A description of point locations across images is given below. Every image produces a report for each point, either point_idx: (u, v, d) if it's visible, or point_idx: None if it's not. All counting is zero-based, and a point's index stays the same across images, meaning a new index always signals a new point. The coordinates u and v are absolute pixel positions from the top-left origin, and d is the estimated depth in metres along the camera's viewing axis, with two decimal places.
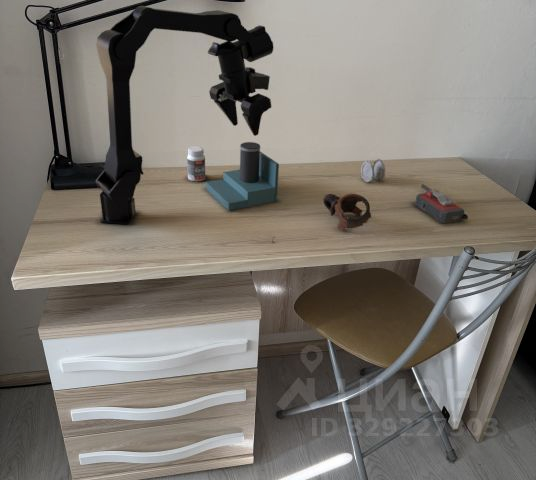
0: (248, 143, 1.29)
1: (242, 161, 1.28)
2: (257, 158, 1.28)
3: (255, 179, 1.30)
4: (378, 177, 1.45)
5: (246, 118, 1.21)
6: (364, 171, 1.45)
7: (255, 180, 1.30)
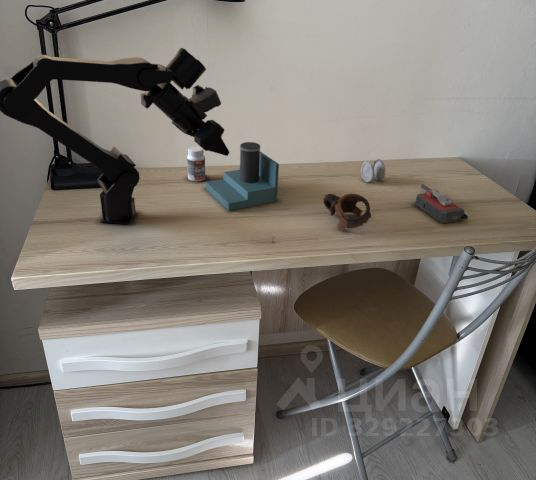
0: (248, 143, 1.29)
1: (242, 161, 1.28)
2: (257, 158, 1.28)
3: (255, 179, 1.30)
4: (378, 177, 1.45)
5: None
6: (364, 171, 1.45)
7: (255, 180, 1.30)
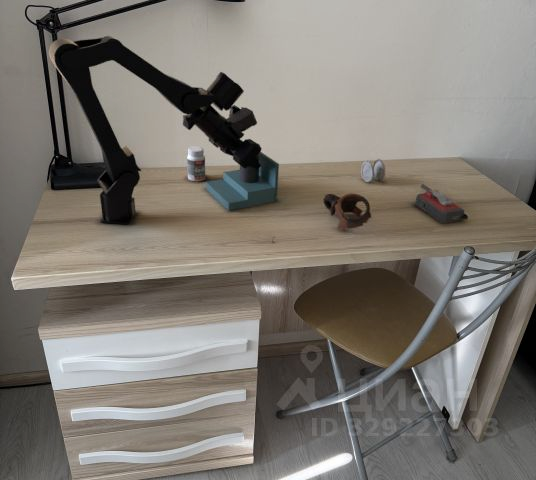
0: None
1: None
2: (257, 158, 1.28)
3: (255, 179, 1.30)
4: (378, 177, 1.45)
5: None
6: (364, 171, 1.45)
7: (255, 180, 1.30)
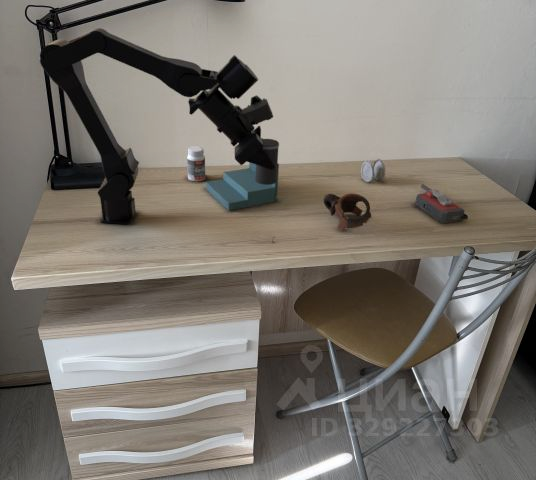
0: (268, 140, 1.14)
1: None
2: (272, 158, 1.13)
3: (269, 181, 1.15)
4: (378, 177, 1.45)
5: None
6: (364, 171, 1.45)
7: (269, 182, 1.15)
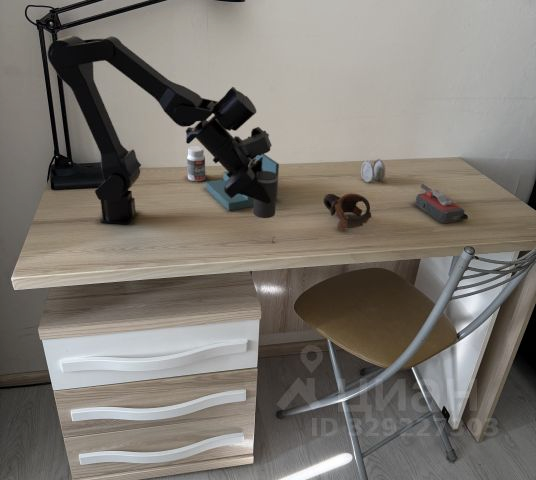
0: (267, 172, 1.11)
1: None
2: (268, 191, 1.10)
3: (265, 215, 1.12)
4: (378, 177, 1.45)
5: None
6: (364, 171, 1.45)
7: (265, 216, 1.12)
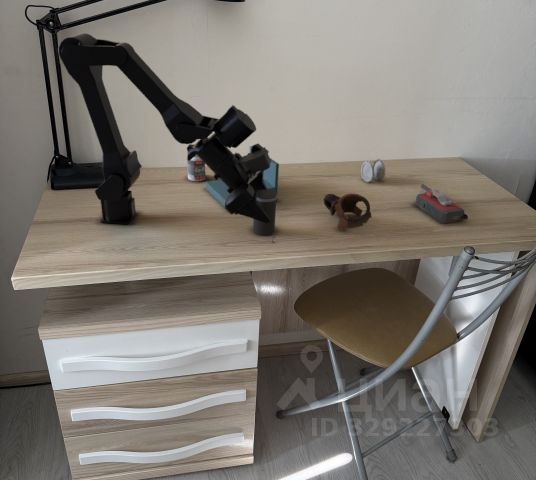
0: (266, 191, 1.14)
1: None
2: (268, 210, 1.12)
3: (265, 232, 1.14)
4: (378, 177, 1.45)
5: None
6: (364, 171, 1.45)
7: (265, 233, 1.15)
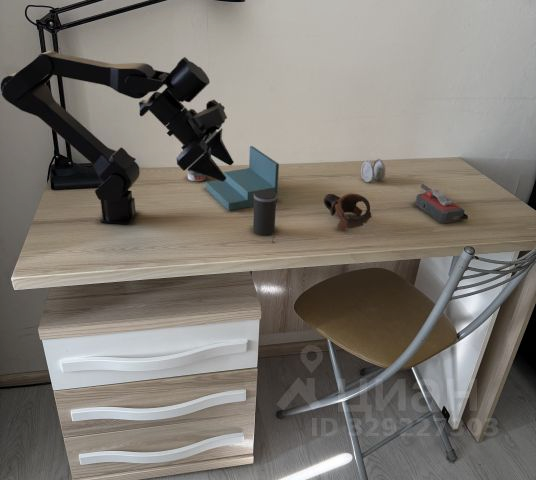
0: (266, 191, 1.14)
1: None
2: (268, 210, 1.12)
3: (265, 232, 1.14)
4: (378, 177, 1.45)
5: None
6: (364, 171, 1.45)
7: (265, 233, 1.15)
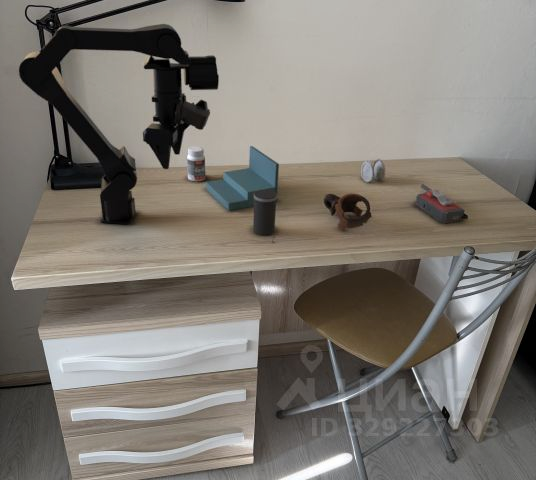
0: (266, 191, 1.14)
1: None
2: (268, 210, 1.12)
3: (265, 232, 1.14)
4: (378, 177, 1.45)
5: None
6: (364, 171, 1.45)
7: (265, 233, 1.15)
